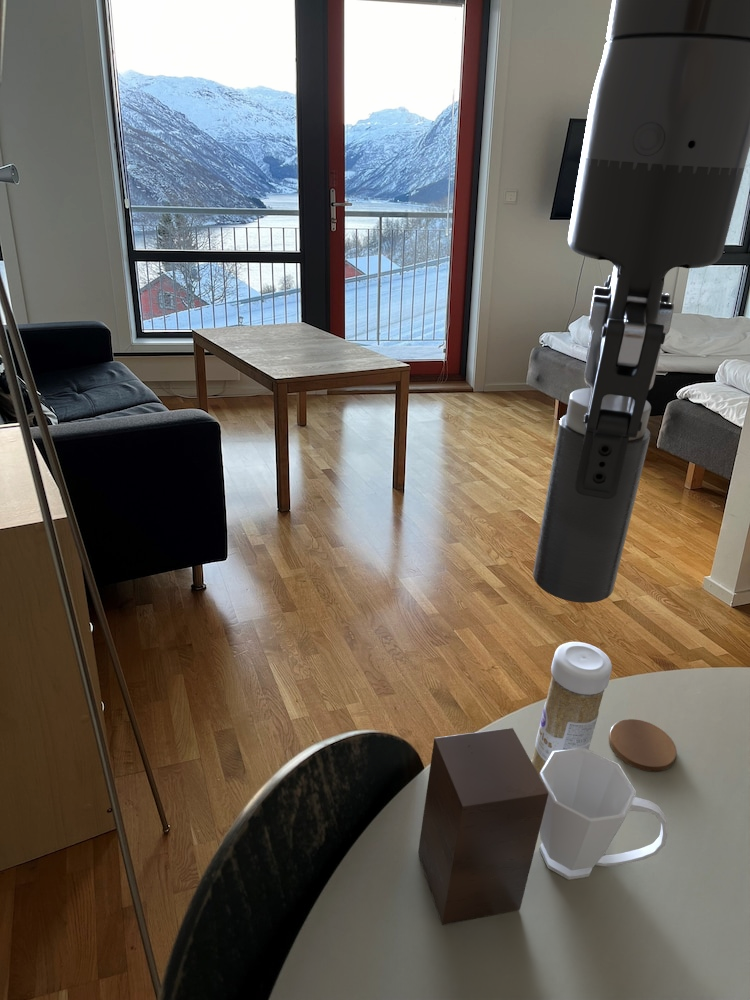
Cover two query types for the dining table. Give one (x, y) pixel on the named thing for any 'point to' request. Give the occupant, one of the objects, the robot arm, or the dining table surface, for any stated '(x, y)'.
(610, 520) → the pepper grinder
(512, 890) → the walnut stand
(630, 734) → the coaster
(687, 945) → the dining table surface
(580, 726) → the sprinkles bottle
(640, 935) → the dining table surface
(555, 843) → the cup
